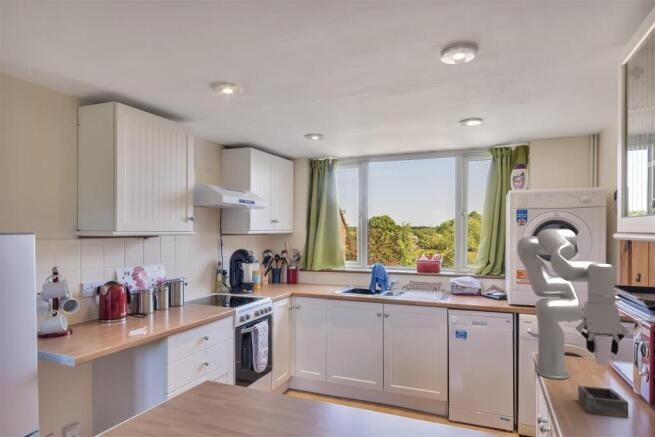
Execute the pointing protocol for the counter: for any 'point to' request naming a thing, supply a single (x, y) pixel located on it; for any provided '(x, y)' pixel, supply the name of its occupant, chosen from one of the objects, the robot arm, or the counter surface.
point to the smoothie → (602, 348)
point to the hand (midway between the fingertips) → (602, 351)
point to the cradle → (603, 401)
